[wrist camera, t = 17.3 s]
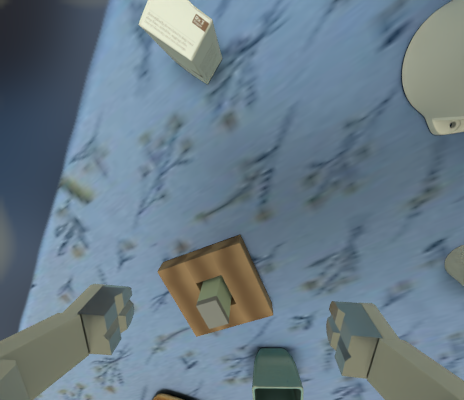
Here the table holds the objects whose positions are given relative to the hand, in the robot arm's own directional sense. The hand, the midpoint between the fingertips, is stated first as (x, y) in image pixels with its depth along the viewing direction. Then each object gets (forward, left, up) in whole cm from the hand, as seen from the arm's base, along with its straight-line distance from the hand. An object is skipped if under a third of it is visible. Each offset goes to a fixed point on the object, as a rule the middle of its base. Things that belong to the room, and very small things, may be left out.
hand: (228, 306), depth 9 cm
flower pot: (-8, +40, -29) cm, 50 cm away
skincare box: (+7, -16, -29) cm, 34 cm away
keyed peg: (+4, +22, -29) cm, 37 cm away
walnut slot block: (+4, +22, -29) cm, 37 cm away
